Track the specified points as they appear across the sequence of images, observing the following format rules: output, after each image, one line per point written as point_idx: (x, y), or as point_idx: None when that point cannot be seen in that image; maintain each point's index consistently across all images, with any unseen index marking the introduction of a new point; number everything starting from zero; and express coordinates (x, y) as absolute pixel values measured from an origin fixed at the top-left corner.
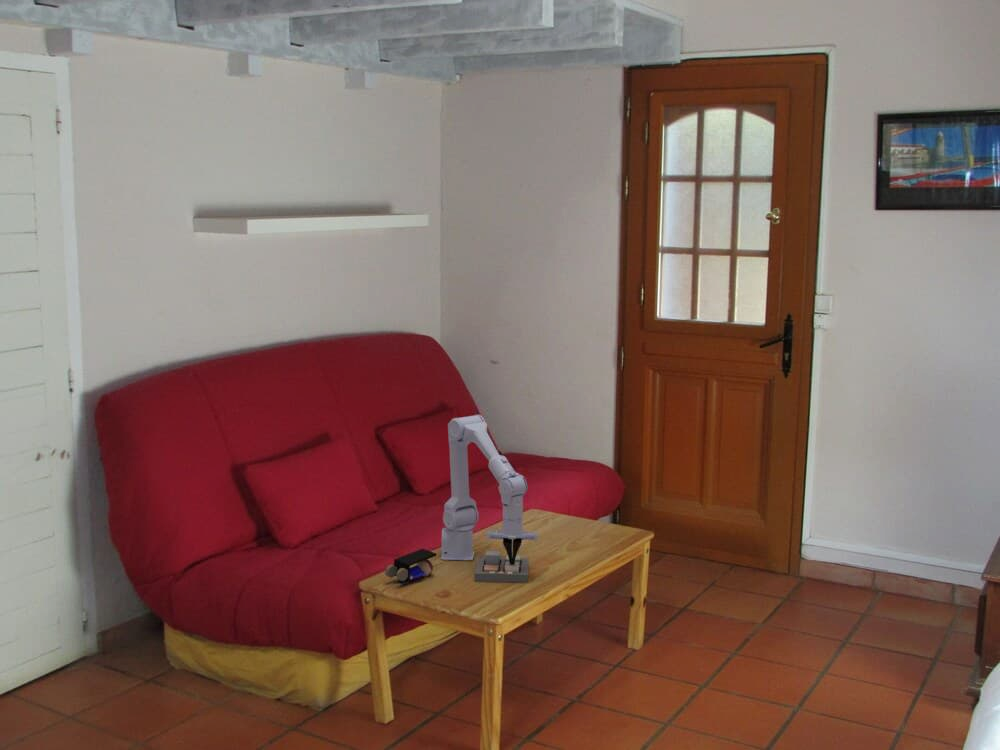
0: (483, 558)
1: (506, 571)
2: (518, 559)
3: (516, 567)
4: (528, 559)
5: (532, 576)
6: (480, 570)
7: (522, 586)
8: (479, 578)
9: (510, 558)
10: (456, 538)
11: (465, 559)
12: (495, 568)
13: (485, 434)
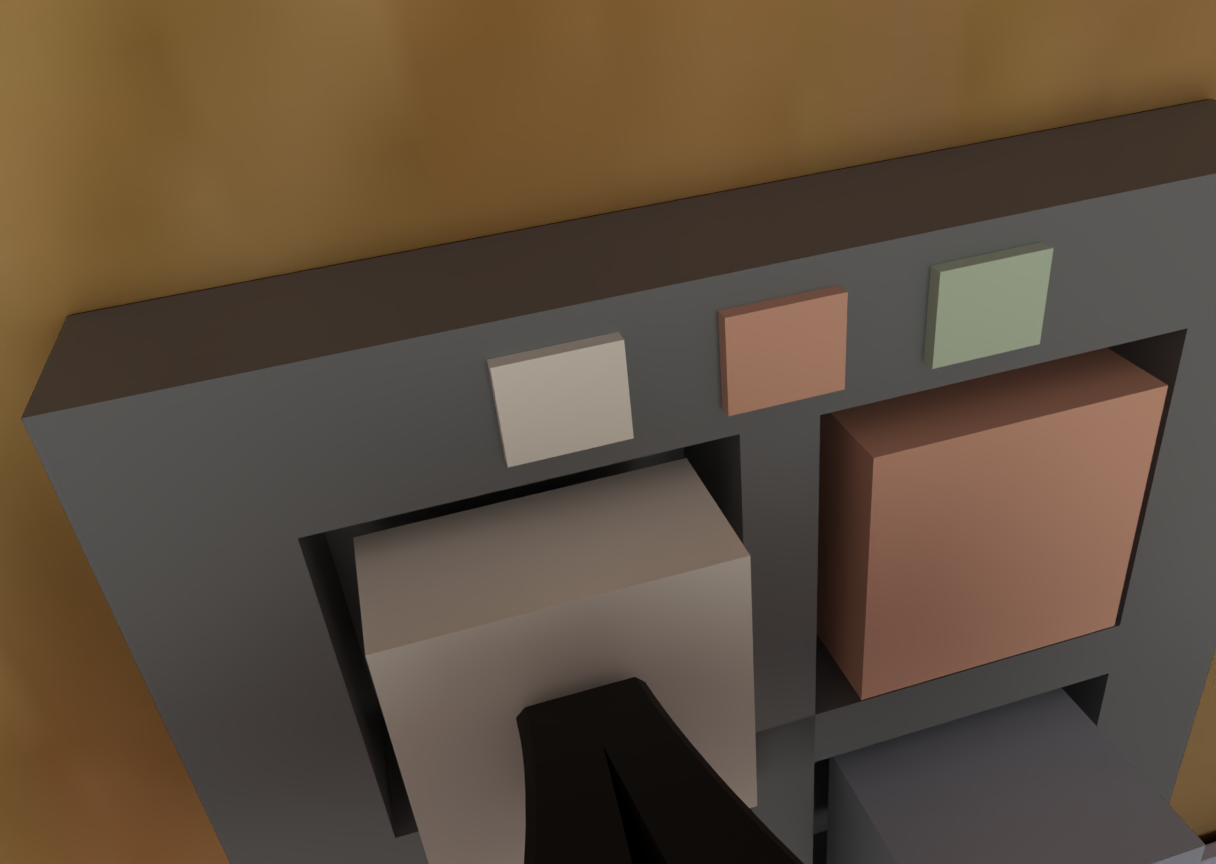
0: None
1: (660, 486)
2: None
3: (430, 623)
4: None
5: (121, 713)
6: (1207, 371)
7: (86, 32)
8: (1174, 131)
9: (680, 800)
10: None
11: (1209, 854)
12: (924, 522)
13: None
